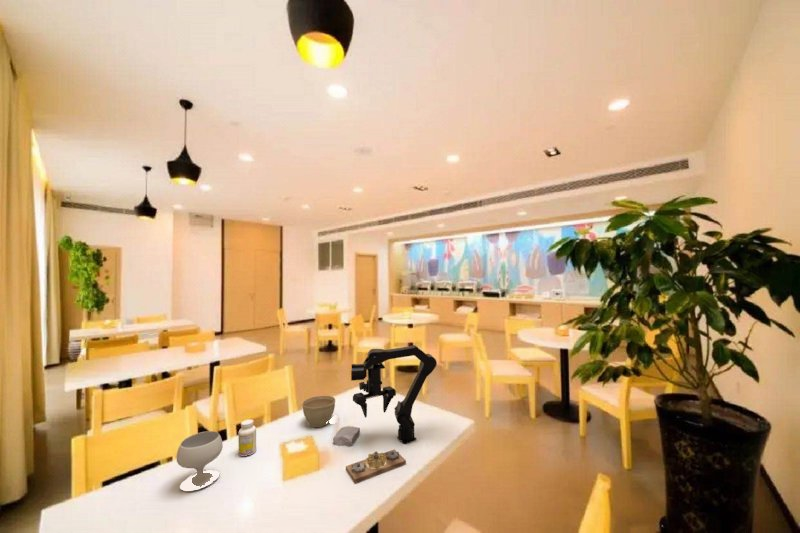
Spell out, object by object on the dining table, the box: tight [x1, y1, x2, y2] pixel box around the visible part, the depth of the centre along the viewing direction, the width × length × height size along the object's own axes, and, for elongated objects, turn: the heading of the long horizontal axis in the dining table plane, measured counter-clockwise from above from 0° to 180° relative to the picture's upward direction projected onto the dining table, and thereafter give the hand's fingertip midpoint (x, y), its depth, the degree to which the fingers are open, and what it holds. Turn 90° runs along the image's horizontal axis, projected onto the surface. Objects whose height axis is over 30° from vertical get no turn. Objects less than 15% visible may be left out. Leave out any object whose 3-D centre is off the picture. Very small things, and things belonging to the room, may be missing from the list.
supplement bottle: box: [237, 419, 257, 457], centre depth 127 cm, size 7×7×13 cm
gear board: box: [345, 449, 407, 485], centre depth 115 cm, size 21×9×6 cm, turn 120°
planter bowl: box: [301, 395, 336, 428], centre depth 152 cm, size 16×16×11 cm
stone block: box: [332, 425, 361, 447], centre depth 136 cm, size 12×5×10 cm
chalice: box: [176, 430, 224, 487], centre depth 110 cm, size 14×14×15 cm
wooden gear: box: [365, 452, 386, 469], centre depth 115 cm, size 7×7×2 cm
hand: (375, 414), depth 133 cm, fingers open, 9 cm apart
